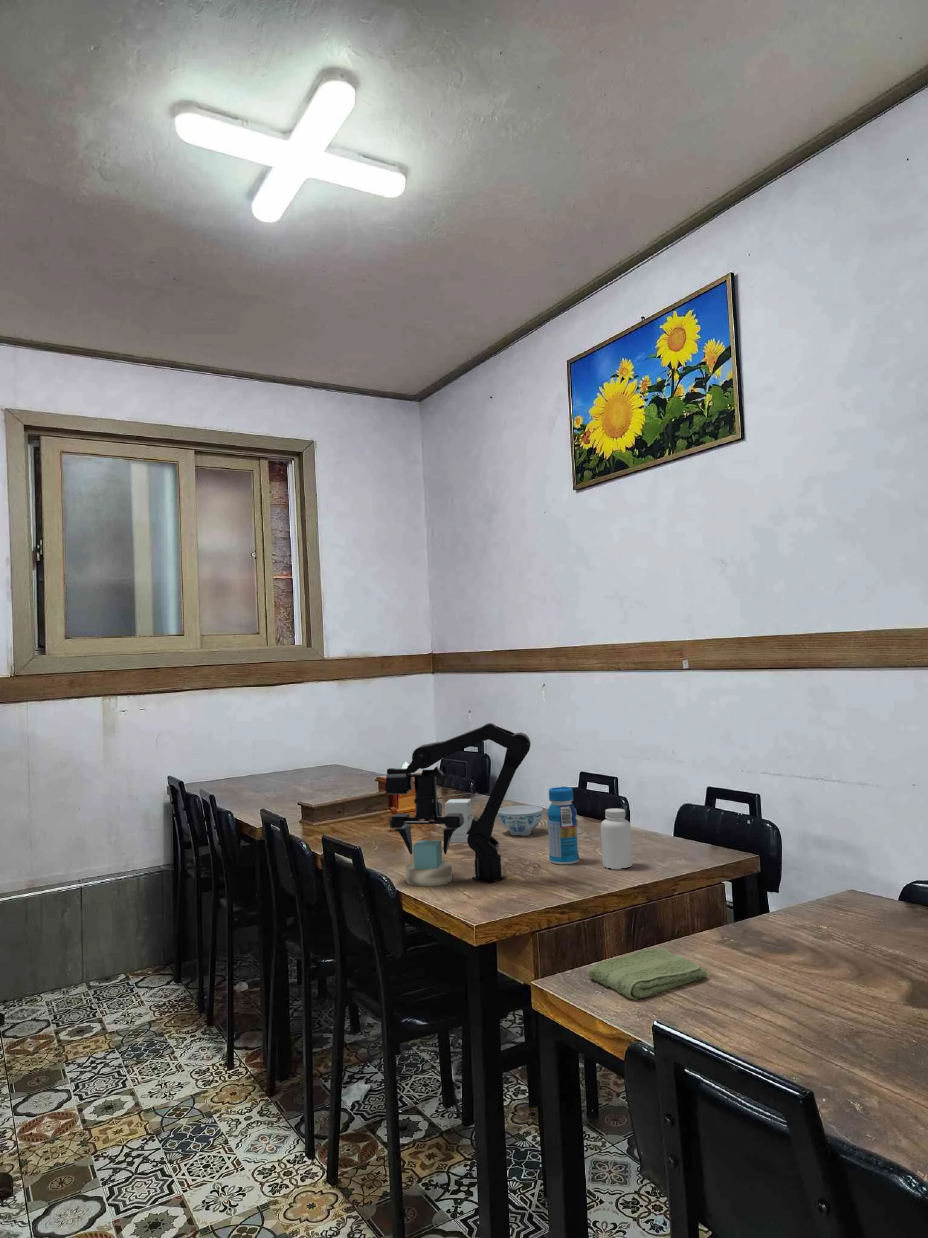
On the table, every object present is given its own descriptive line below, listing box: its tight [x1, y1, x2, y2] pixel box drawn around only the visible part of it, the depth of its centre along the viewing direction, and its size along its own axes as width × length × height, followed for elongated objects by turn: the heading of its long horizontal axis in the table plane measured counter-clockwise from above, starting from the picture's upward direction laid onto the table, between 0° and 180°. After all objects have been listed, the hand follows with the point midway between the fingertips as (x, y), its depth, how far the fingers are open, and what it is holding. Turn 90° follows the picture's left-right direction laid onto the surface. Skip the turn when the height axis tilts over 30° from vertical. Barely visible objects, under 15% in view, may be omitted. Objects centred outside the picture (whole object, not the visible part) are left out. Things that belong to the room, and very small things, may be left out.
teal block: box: [412, 839, 443, 869], centre depth 211 cm, size 6×6×6 cm
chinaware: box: [497, 805, 544, 836], centre depth 264 cm, size 15×15×8 cm
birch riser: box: [405, 860, 453, 887], centre depth 211 cm, size 12×12×4 cm
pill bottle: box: [600, 808, 633, 870], centre depth 217 cm, size 8×8×15 cm
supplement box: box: [444, 798, 473, 844], centre depth 258 cm, size 7×7×13 cm
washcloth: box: [587, 947, 709, 1001], centre depth 140 cm, size 13×18×3 cm
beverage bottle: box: [546, 786, 580, 865], centre depth 225 cm, size 8×8×20 cm
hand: (428, 854), depth 211 cm, fingers open, 9 cm apart
